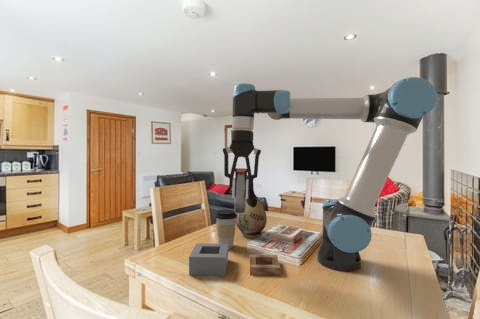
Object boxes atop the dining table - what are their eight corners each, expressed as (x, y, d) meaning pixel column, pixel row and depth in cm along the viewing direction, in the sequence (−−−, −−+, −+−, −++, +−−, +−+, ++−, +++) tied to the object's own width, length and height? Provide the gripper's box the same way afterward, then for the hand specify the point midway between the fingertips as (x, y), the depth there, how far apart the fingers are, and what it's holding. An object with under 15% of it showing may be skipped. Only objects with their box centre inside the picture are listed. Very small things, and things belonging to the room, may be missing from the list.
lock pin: (246, 210, 88) (247, 168, 88) (246, 213, 84) (247, 169, 83) (233, 209, 88) (235, 168, 88) (232, 212, 84) (234, 168, 83)
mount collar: (276, 261, 91) (276, 255, 91) (280, 275, 81) (280, 267, 81) (249, 261, 91) (249, 254, 91) (250, 274, 81) (250, 267, 81)
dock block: (228, 259, 92) (228, 243, 92) (225, 275, 80) (225, 257, 80) (196, 259, 93) (196, 243, 93) (188, 274, 81) (188, 256, 80)
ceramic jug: (234, 229, 128) (235, 172, 128) (264, 229, 129) (264, 172, 128) (235, 241, 111) (235, 175, 111) (269, 241, 112) (270, 175, 111)
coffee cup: (234, 251, 100) (234, 215, 99) (211, 249, 102) (212, 213, 101) (238, 243, 109) (239, 209, 109) (218, 241, 111) (218, 208, 111)
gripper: (266, 132, 89) (263, 196, 89) (219, 130, 89) (217, 194, 90) (268, 130, 81) (265, 200, 82) (216, 128, 82) (214, 198, 82)
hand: (240, 197), depth 86 cm, fingers closed on lock pin, 4 cm apart
